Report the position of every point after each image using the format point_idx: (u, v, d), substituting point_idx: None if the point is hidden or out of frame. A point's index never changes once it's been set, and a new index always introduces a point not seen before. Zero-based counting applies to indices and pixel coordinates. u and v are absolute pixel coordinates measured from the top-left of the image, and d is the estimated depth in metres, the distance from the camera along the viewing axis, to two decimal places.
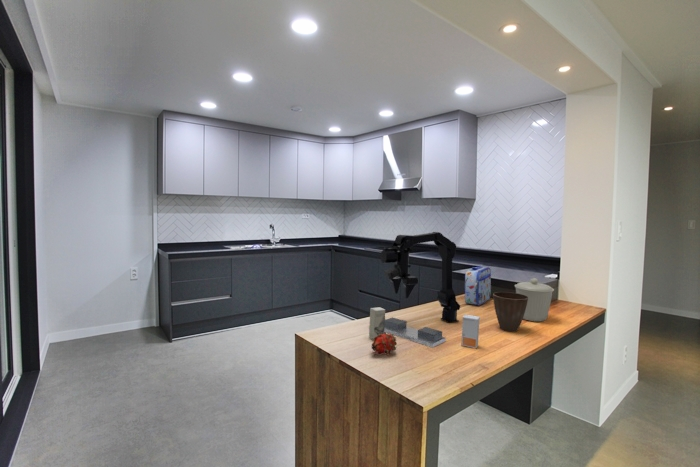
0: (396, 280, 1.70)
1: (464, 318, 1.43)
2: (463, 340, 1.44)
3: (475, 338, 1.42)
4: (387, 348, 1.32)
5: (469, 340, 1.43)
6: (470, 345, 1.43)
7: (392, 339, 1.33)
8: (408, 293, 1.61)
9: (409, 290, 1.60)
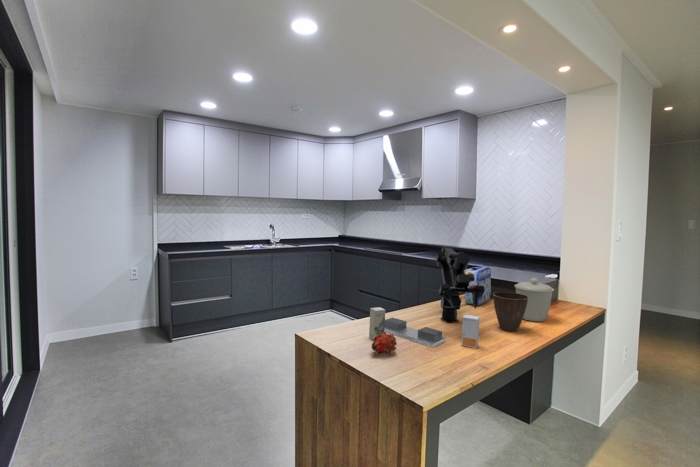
0: None
1: (464, 318, 1.43)
2: (463, 340, 1.44)
3: (475, 338, 1.42)
4: (387, 348, 1.32)
5: (469, 340, 1.43)
6: (470, 345, 1.43)
7: (392, 339, 1.33)
8: None
9: None
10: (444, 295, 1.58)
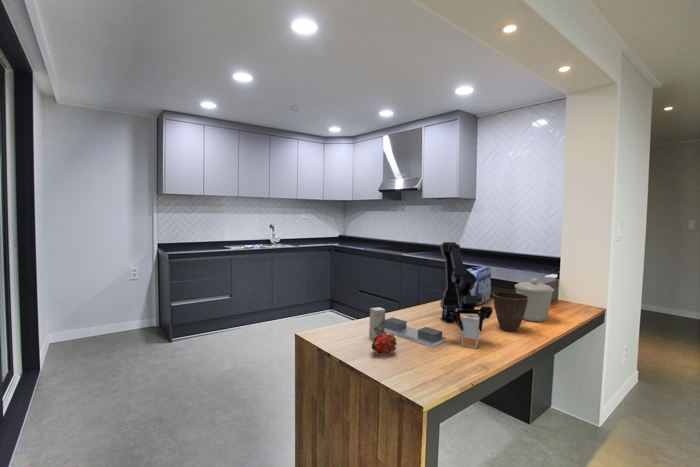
0: None
1: (464, 318, 1.43)
2: (463, 340, 1.44)
3: (475, 338, 1.42)
4: (387, 348, 1.32)
5: (469, 340, 1.43)
6: (470, 345, 1.43)
7: (392, 339, 1.33)
8: None
9: None
10: (452, 317, 1.49)
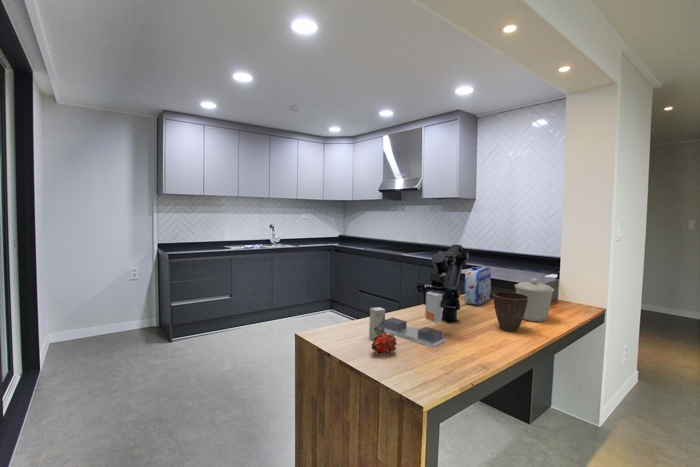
0: None
1: (427, 293, 1.55)
2: (426, 314, 1.56)
3: (434, 313, 1.52)
4: (387, 348, 1.32)
5: (430, 314, 1.54)
6: (431, 319, 1.54)
7: (392, 339, 1.33)
8: (444, 303, 1.53)
9: (446, 300, 1.54)
10: (422, 292, 1.62)
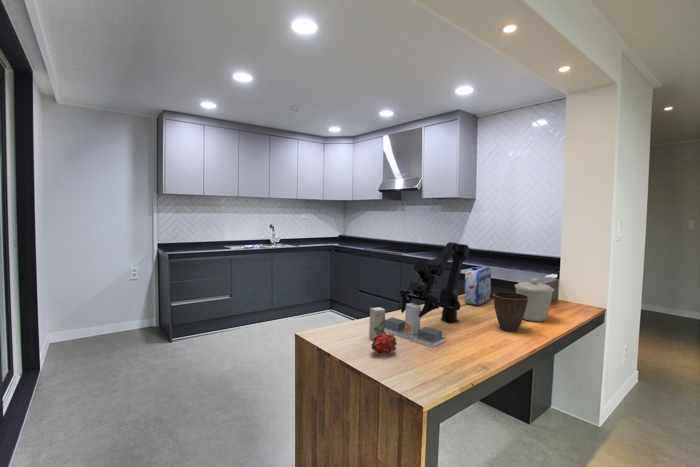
0: (407, 300, 1.60)
1: (406, 305, 1.56)
2: (405, 325, 1.56)
3: (411, 324, 1.52)
4: (387, 348, 1.32)
5: (408, 326, 1.54)
6: (408, 330, 1.54)
7: (392, 339, 1.33)
8: (423, 313, 1.51)
9: (426, 311, 1.51)
10: None
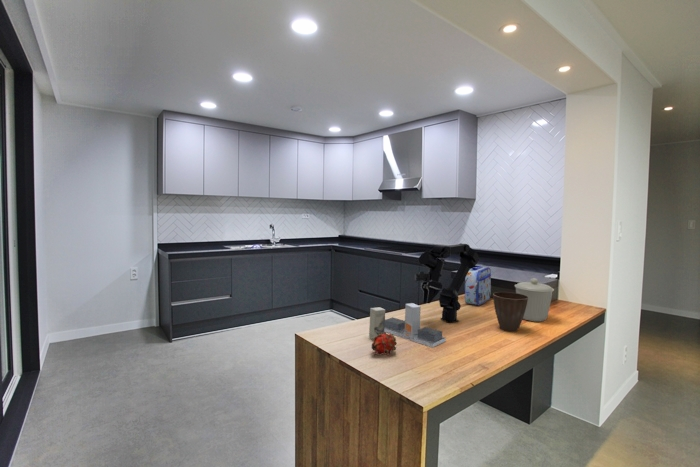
0: (427, 290, 1.72)
1: (406, 305, 1.56)
2: (405, 325, 1.56)
3: (411, 325, 1.52)
4: (387, 348, 1.32)
5: (408, 326, 1.54)
6: (408, 331, 1.54)
7: (392, 339, 1.33)
8: (430, 298, 1.61)
9: (432, 295, 1.60)
10: None
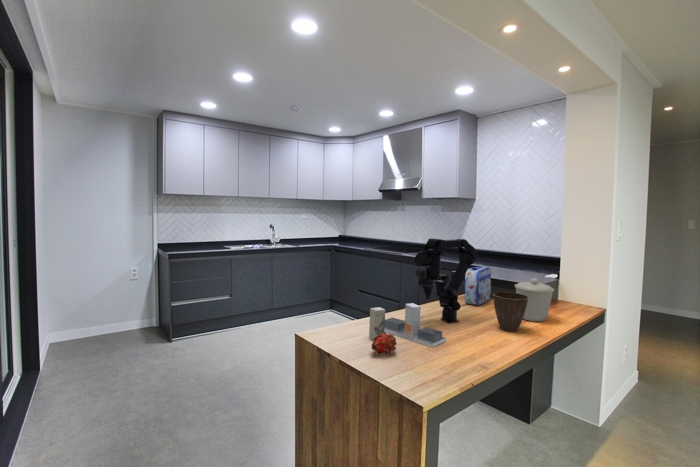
0: (439, 283, 1.74)
1: (406, 305, 1.56)
2: (405, 325, 1.56)
3: (411, 325, 1.52)
4: (387, 348, 1.32)
5: (408, 326, 1.54)
6: (408, 331, 1.54)
7: (392, 339, 1.33)
8: (427, 294, 1.66)
9: (427, 291, 1.66)
10: None
